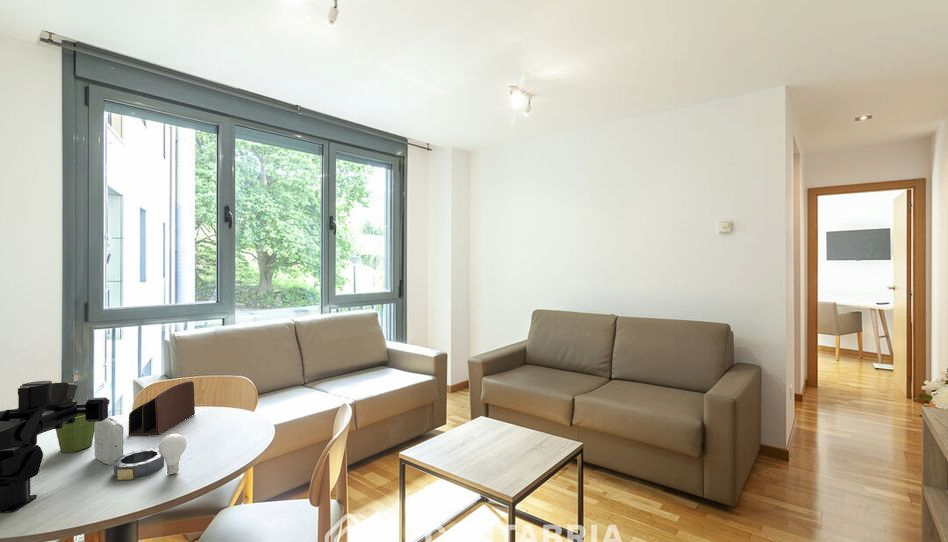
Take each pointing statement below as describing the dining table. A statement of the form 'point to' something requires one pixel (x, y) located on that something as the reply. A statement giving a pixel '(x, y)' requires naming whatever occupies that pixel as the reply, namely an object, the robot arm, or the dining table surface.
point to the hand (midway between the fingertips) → (92, 401)
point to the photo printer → (108, 440)
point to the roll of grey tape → (138, 464)
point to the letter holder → (163, 411)
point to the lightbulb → (172, 451)
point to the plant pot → (76, 434)
